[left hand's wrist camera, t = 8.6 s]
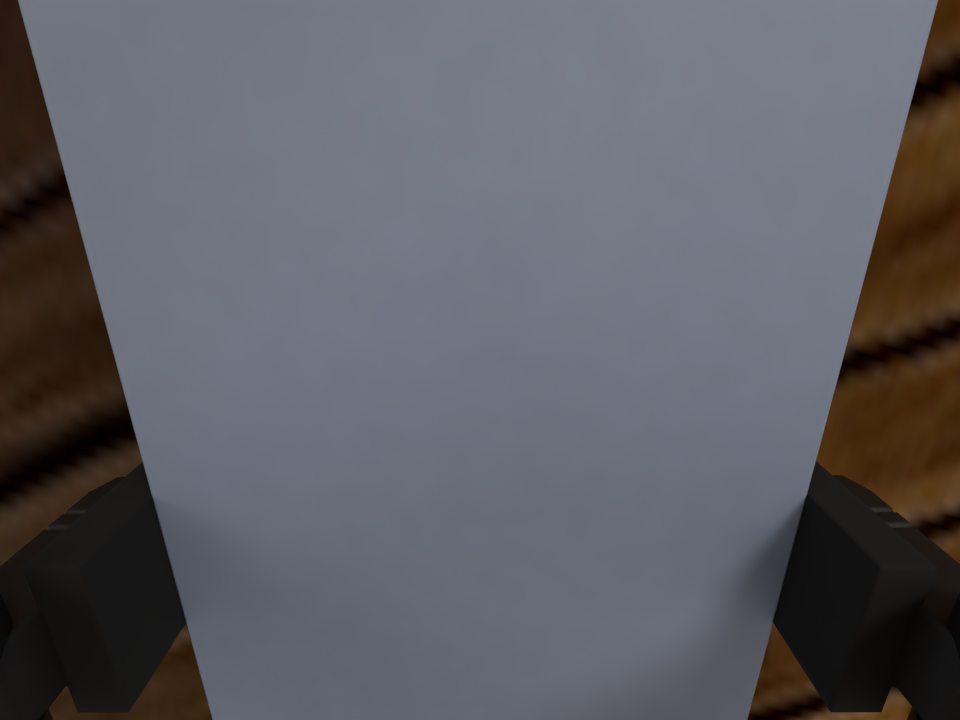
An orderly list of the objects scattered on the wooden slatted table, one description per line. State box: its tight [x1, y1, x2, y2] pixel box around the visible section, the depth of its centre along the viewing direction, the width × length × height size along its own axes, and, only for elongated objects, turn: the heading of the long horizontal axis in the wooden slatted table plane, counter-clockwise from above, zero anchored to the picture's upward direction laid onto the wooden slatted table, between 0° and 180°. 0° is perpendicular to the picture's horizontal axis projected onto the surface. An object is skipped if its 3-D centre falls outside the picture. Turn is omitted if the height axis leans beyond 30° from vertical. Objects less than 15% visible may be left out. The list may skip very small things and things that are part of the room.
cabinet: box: [18, 0, 938, 720], centre depth 12 cm, size 17×10×11 cm, turn 0°
